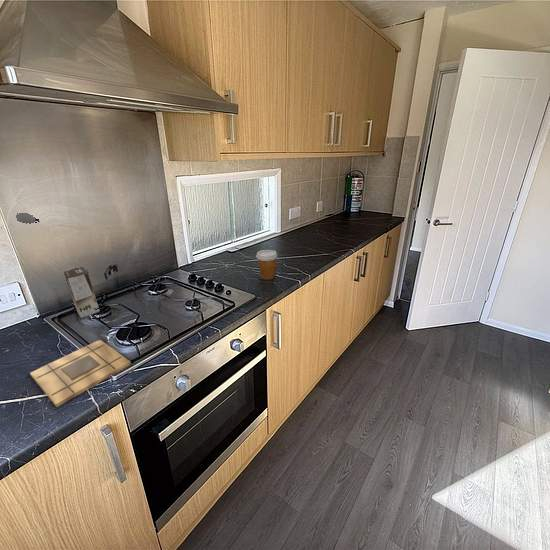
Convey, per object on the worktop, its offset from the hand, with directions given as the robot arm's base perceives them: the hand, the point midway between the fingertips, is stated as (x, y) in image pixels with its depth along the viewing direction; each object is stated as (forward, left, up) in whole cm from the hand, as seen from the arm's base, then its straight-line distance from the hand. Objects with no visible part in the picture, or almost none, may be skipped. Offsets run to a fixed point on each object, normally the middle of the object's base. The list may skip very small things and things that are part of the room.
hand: (86, 279), depth 113 cm
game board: (+15, -43, -10) cm, 47 cm away
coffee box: (+2, -8, -10) cm, 13 cm away
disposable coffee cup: (+72, +9, -10) cm, 73 cm away
